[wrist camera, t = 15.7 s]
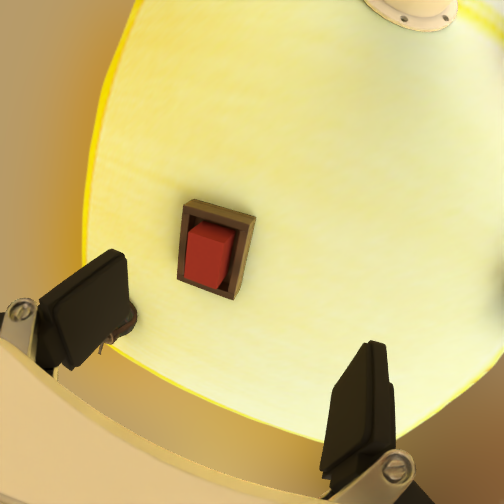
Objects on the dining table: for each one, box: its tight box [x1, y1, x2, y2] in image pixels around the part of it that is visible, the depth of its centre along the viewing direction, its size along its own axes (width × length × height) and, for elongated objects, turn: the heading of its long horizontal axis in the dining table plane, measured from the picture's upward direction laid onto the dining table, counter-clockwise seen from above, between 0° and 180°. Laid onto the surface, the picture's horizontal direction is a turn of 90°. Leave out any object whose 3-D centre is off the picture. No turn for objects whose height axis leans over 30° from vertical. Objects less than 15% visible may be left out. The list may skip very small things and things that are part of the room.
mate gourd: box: [99, 301, 137, 354], centre depth 45 cm, size 7×8×10 cm
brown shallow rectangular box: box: [177, 199, 256, 300], centre depth 36 cm, size 11×8×3 cm
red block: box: [184, 221, 236, 289], centre depth 35 cm, size 6×4×4 cm
